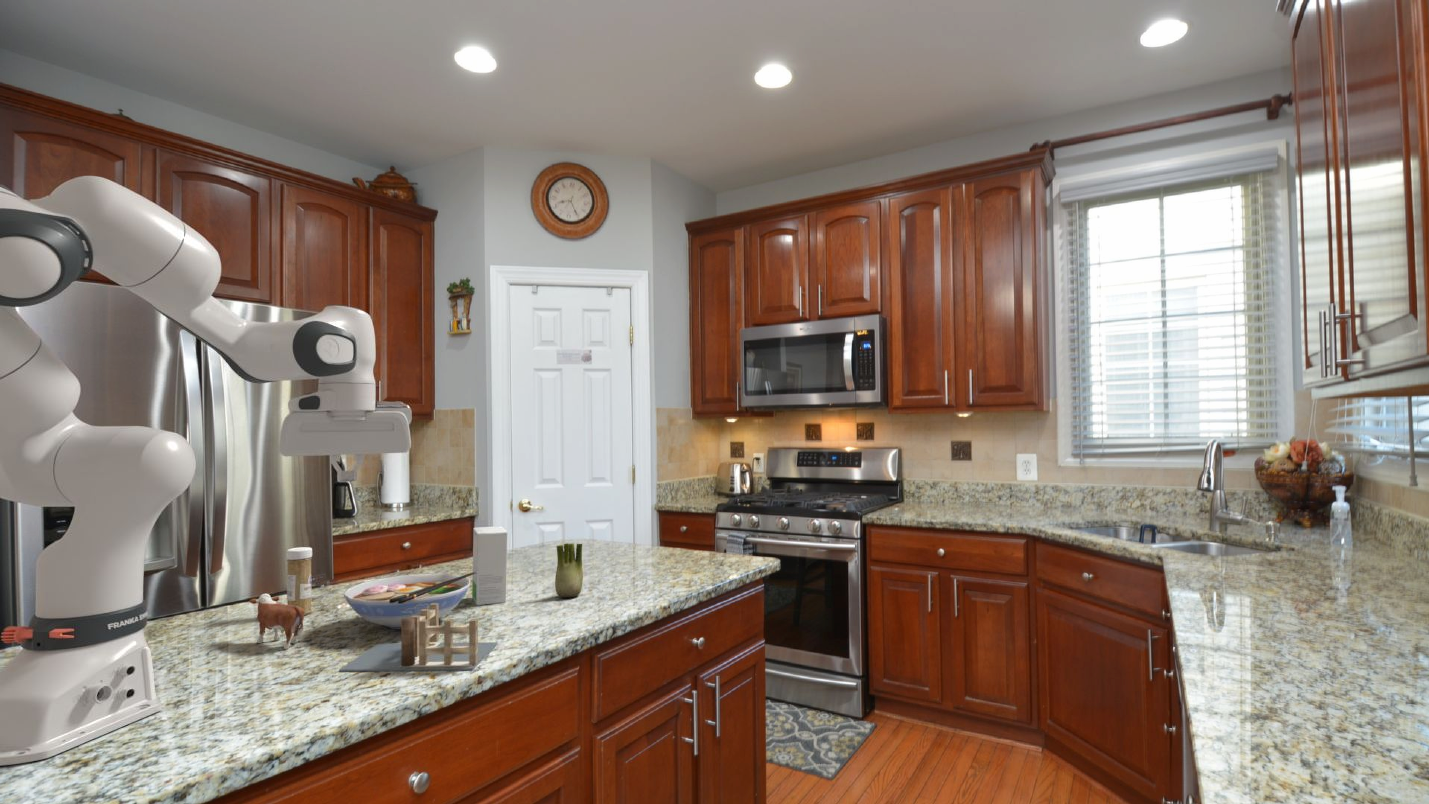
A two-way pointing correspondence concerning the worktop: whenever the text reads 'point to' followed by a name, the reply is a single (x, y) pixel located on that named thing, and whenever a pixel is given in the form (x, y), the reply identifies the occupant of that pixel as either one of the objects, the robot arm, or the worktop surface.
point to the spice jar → (299, 578)
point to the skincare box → (489, 565)
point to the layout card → (390, 659)
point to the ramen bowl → (406, 596)
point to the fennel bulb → (569, 570)
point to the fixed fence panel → (448, 641)
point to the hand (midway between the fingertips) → (347, 481)
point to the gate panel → (433, 620)
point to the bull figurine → (279, 618)
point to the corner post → (408, 642)
